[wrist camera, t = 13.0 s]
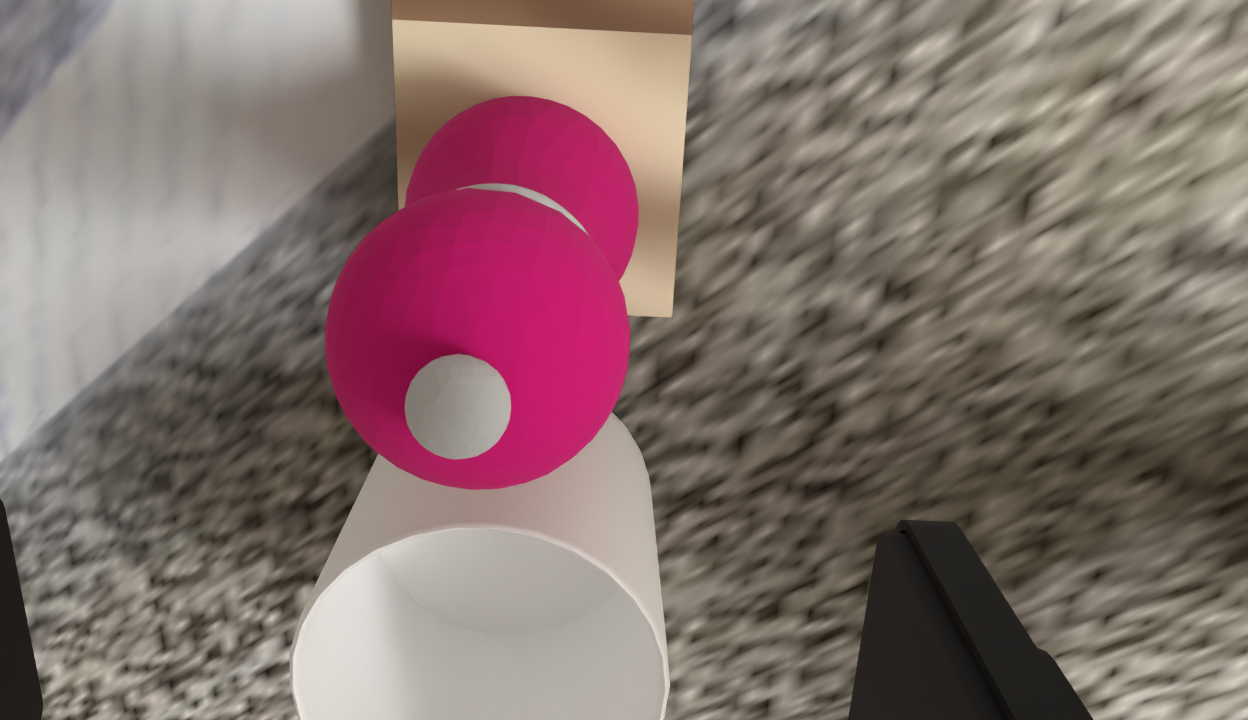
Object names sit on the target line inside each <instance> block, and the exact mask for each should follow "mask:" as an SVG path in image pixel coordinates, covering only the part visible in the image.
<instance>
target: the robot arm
mask: <svg viewBox="0 0 1248 720" xmlns="http://www.w3.org/2000/svg"><path fill="white" fill-rule="evenodd" d="M42 710H43V699H42V693H41V688H40V683H39V678H38V673H37V668H36V663H35V658H34V653H33V648H32V643H31V638H30V633H29V628H28V623H27V618H26V612H25V607H24V602H23V597H22V592H21V587H20V582H19V577H18V572H17V567H16V562H15V557H14V552H13V547H12V542H11V537H10V532H9V526H8V521H7V516H6V511H5V508H4V505H3V502H2V500H1V499H0V720H41V716H42ZM848 720H1093V718H1092V717H1091V715H1090V714H1089V712H1088V711H1087V709H1086V708H1085V706H1084V705H1083V703H1082V702H1081V700H1080V698H1079V697H1078V695H1077V694H1076V692H1075V691H1074V689H1073V688H1072V686H1071V685H1070V683H1069V682H1068V680H1067V679H1066V677H1065V676H1064V674H1063V673H1062V671H1061V669H1060V668H1059V666H1058V665H1057V663H1056V662H1055V661H1054V660H1053V658H1052V657H1051V656H1050V655H1049V654H1048V653H1047V652H1046V651H1044V650H1041V649H1039V648H1037V647H1036V646H1035V644H1034V643H1033V641H1032V640H1031V638H1030V636H1029V635H1028V633H1027V632H1026V630H1025V629H1024V627H1023V625H1022V624H1021V622H1020V621H1019V619H1018V618H1017V616H1016V615H1015V613H1014V611H1013V610H1012V608H1011V607H1010V605H1009V604H1008V602H1007V601H1006V599H1005V597H1004V596H1003V594H1002V593H1001V591H1000V590H999V588H998V586H997V585H996V583H995V582H994V580H993V579H992V577H991V576H990V574H989V572H988V571H987V569H986V568H985V566H984V565H983V563H982V561H981V560H980V558H979V557H978V555H977V554H976V552H975V551H974V549H973V547H972V546H971V544H970V543H969V541H968V540H967V538H966V537H965V535H964V533H963V532H962V530H961V529H960V527H959V526H958V525H957V524H956V523H954V522H940V521H917V520H901V521H900V522H899V523H898V524H897V527H896V529H895V532H894V533H886V532H883V533H882V534H880V536H879V539H878V542H877V546H876V552H875V558H874V564H873V571H872V577H871V583H870V589H869V595H868V601H867V607H866V614H865V620H864V626H863V632H862V638H861V644H860V650H859V657H858V663H857V669H856V675H855V681H854V687H853V694H852V700H851V706H850V712H849V718H848Z"/></svg>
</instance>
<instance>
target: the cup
mask: <svg viewBox="0 0 1248 720" xmlns="http://www.w3.org/2000/svg"><path fill="white" fill-rule="evenodd" d="M290 688H291V692H292V696H293V700H294V704H295V708H296V712H297V716H298V718H299V720H663V719H664V717H665V711H666V706H667V700H668V694H669V689H670V679H669V666H668V653H667V643H666V634H665V624H664V614H663V604H662V594H661V584H660V575H659V565H658V555H657V545H656V535H655V525H654V516H653V506H652V496H651V486H650V480H649V475H648V472H647V469H646V466H645V463H644V460H643V457H642V453H641V450H640V449H639V447H638V445H637V444H636V442H635V440H634V439H633V437H632V435H631V434H630V432H629V431H628V429H627V427H626V426H625V425H624V424H623V423H622V422H621V421H620V420H619V419H618V418H617V417H616V416H615V415H614V414H613V412H611V414H610V416H609V417H608V419H607V421H606V422H605V424H604V425H603V426H602V428H601V429H600V430H599V432H598V433H597V435H596V436H595V437H594V439H593V440H592V441H591V442H590V443H588V444H587V445H586V446H585V447H584V448H583V449H582V450H581V451H580V452H579V453H578V454H577V455H575V456H574V457H573V458H572V459H571V460H569V461H567V462H566V463H564V464H563V465H561V466H560V467H558V468H557V469H555V470H554V471H552V472H551V473H549V474H548V475H545V476H543V477H540V478H537V479H535V480H532V481H530V482H527V483H524V484H519V485H515V486H510V487H506V488H501V489H483V490H469V489H462V488H455V487H448V486H444V485H440V484H436V483H433V482H429V481H426V480H422V479H420V478H418V477H416V476H414V475H412V474H410V473H408V472H406V471H404V470H401V469H399V468H397V467H396V466H395V465H393V464H392V463H391V462H389V461H388V460H387V459H385V458H384V457H382V456H381V455H380V454H378V455H377V457H376V459H375V461H374V464H373V466H372V468H371V470H370V472H369V474H368V476H367V478H366V480H365V482H364V484H363V487H362V489H361V491H360V493H359V495H358V497H357V499H356V501H355V503H354V505H353V507H352V509H351V512H350V514H349V516H348V518H347V520H346V522H345V524H344V526H343V528H342V530H341V532H340V535H339V537H338V539H337V541H336V543H335V545H334V547H333V549H332V551H331V553H330V555H329V557H328V560H327V562H326V564H325V566H324V568H323V570H322V572H321V574H320V576H319V578H318V580H317V583H316V585H315V587H314V589H313V591H312V593H311V595H310V597H309V599H308V601H307V603H306V605H305V608H304V610H303V612H302V614H301V616H300V618H299V621H298V624H297V628H296V631H295V635H294V639H293V642H292V646H291V649H290Z"/></svg>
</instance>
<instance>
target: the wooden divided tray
mask: <svg viewBox="0 0 1248 720" xmlns="http://www.w3.org/2000/svg"><path fill="white" fill-rule="evenodd" d="M694 1H695V0H392V29H393V59H394V89H395V118H396V148H397V178H398V207H399V210H400V209H402V208H404V207H405V200H406V192H407V187H408V185H409V182H410V179H411V176H412V173H413V170H414V168H415V165H416V163H417V161H418V159H419V157H420V155H421V153H422V151H423V149H424V148H425V146H426V145H427V144H428V142H429V141H430V139H431V138H432V136H433V135H434V134H435V133H436V132H437V131H438V130H439V129H440V128H441V127H442V126H443V125H444V124H445V123H446V122H448V121H449V120H450V119H452V118H453V117H454V116H456V115H457V114H458V113H460V112H462V111H464V110H466V109H468V108H470V107H472V106H474V105H475V104H479V103H482V102H485V101H488V100H491V99H495V98H502V97H508V96H532V97H538V98H544V99H549V100H552V101H555V102H558V103H561V104H564V105H567V106H569V107H571V108H573V109H574V110H576V111H578V112H580V113H582V114H584V115H585V116H587V117H588V118H589V119H591V120H592V121H593V122H594V123H596V124H597V125H598V126H599V127H601V128H602V129H603V131H604V132H605V133H606V134H607V135H608V136H609V137H610V138H611V139H612V140H613V142H614V143H615V144H616V145H617V147H618V148H619V150H620V152H621V153H622V155H623V157H624V159H625V160H626V162H627V164H628V166H629V169H630V171H631V174H632V177H633V180H634V182H635V185H636V191H637V198H638V205H639V224H638V230H637V236H636V241H635V245H634V249H633V253H632V256H631V259H630V261H629V263H628V266H627V268H626V270H625V272H624V275H623V276H622V278H621V279H620V281H619V283H620V286H621V288H622V291H623V294H624V296H625V302H626V308H627V314H628V316H649V317H672V309H673V295H674V281H675V267H676V253H677V239H678V225H679V211H680V197H681V183H682V169H683V155H684V141H685V127H686V113H687V99H688V85H689V71H690V57H691V43H692V29H693V15H694Z"/></svg>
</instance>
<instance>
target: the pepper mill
mask: <svg viewBox="0 0 1248 720" xmlns="http://www.w3.org/2000/svg"><path fill="white" fill-rule="evenodd" d="M638 224H639V205H638V198H637V191H636V185H635V182H634V180H633V177H632V174H631V171H630V169H629V166H628V164H627V162H626V160H625V159H624V157H623V155H622V153H621V152H620V150H619V148H618V147H617V145H616V144H615V143H614V142H613V140H612V139H611V138H610V137H609V136H608V135H607V134H606V133H605V132H604V131H603V129H602V128H601V127H599V126H598V125H597V124H596V123H594V122H593V121H592V120H591V119H589V118H588V117H587V116H585V115H584V114H582V113H580V112H578V111H576V110H574V109H573V108H571V107H569V106H567V105H564V104H561V103H558V102H555V101H552V100H549V99H544V98H538V97H532V96H508V97H502V98H495V99H491V100H488V101H485V102H482V103H479V104H475V105H474V106H472V107H470V108H468V109H466V110H464V111H462V112H460V113H458V114H457V115H456V116H454V117H453V118H452V119H450V120H449V121H448V122H446V123H445V124H444V125H443V126H442V127H441V128H440V129H439V130H438V131H437V132H436V133H435V134H434V135H433V136H432V138H431V139H430V141H429V142H428V144H427V145H426V146H425V148H424V149H423V151H422V153H421V155H420V157H419V159H418V161H417V163H416V165H415V168H414V170H413V173H412V176H411V179H410V182H409V185H408V187H407V192H406V200H405V207H404V208H402V209H400V210H399V211H397V212H395V213H394V214H392V215H391V216H389V217H388V218H386V219H385V220H383V221H382V222H380V223H379V224H378V225H377V226H376V227H375V228H374V229H373V230H372V231H371V232H370V233H369V234H368V235H366V236H365V237H364V238H363V239H362V241H361V242H360V243H359V245H358V246H357V247H356V249H355V250H354V251H353V253H352V254H351V255H350V257H349V258H348V260H347V262H346V264H345V266H344V268H343V270H342V271H341V273H340V275H339V277H338V279H337V282H336V285H335V288H334V290H333V293H332V296H331V299H330V304H329V310H328V315H327V320H326V326H325V345H326V363H327V368H328V372H329V376H330V379H331V382H332V385H333V388H334V391H335V395H336V397H337V399H338V401H339V403H340V405H341V407H342V409H343V411H344V413H345V415H346V417H347V419H348V420H349V422H350V423H351V424H352V425H353V427H354V428H355V429H356V431H357V432H358V433H359V434H360V436H361V437H362V438H363V440H364V441H365V442H366V443H367V444H368V445H369V446H370V447H371V448H372V449H373V450H374V451H376V452H377V453H378V454H380V455H381V456H382V457H384V458H385V459H387V460H388V461H389V462H391V463H392V464H393V465H395V466H396V467H397V468H399V469H401V470H404V471H406V472H408V473H410V474H412V475H414V476H416V477H418V478H420V479H422V480H426V481H429V482H433V483H436V484H440V485H444V486H448V487H455V488H462V489H469V490H483V489H501V488H506V487H510V486H515V485H519V484H524V483H527V482H530V481H532V480H535V479H537V478H540V477H543V476H545V475H548V474H549V473H551V472H552V471H554V470H555V469H557V468H558V467H560V466H561V465H563V464H564V463H566V462H567V461H569V460H571V459H572V458H573V457H574V456H575V455H577V454H578V453H579V452H580V451H581V450H582V449H583V448H584V447H585V446H586V445H587V444H588V443H590V442H591V441H592V440H593V439H594V437H595V436H596V435H597V433H598V432H599V430H600V429H601V428H602V426H603V425H604V424H605V422H606V421H607V419H608V417H609V416H610V414H611V412H612V410H613V408H614V406H615V404H616V402H617V400H618V398H619V395H620V392H621V389H622V386H623V382H624V379H625V376H626V373H627V369H628V360H629V352H630V326H629V320H628V314H627V308H626V302H625V296H624V294H623V291H622V288H621V286H620V283H619V281H620V279H621V278H622V276H623V275H624V272H625V270H626V268H627V266H628V263H629V261H630V259H631V256H632V253H633V249H634V245H635V241H636V236H637V230H638Z"/></svg>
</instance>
